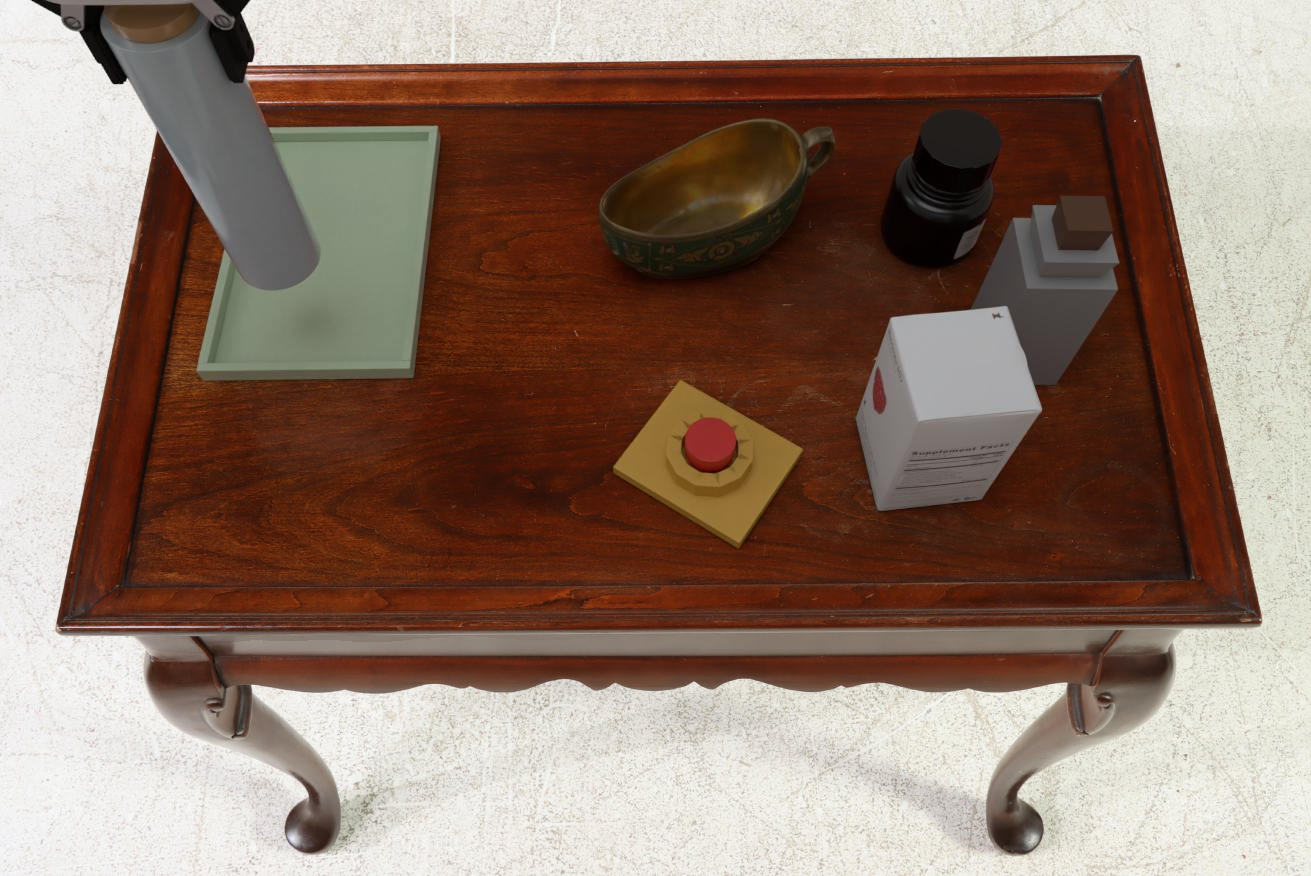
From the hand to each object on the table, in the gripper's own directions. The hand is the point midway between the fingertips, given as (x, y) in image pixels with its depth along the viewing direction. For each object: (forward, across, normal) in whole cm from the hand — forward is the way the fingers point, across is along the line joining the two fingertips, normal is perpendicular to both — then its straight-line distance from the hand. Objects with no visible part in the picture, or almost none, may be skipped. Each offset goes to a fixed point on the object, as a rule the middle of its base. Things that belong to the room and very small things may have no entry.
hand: (182, 66), depth 65 cm
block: (+29, +34, -14) cm, 47 cm away
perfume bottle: (+29, +61, -3) cm, 68 cm away
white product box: (+29, +51, -13) cm, 61 cm away
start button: (+27, +34, -14) cm, 45 cm away
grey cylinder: (+19, 0, 0) cm, 19 cm away
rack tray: (+29, 0, +9) cm, 31 cm away
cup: (+29, +36, +10) cm, 47 cm away
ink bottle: (+29, +55, +10) cm, 64 cm away
